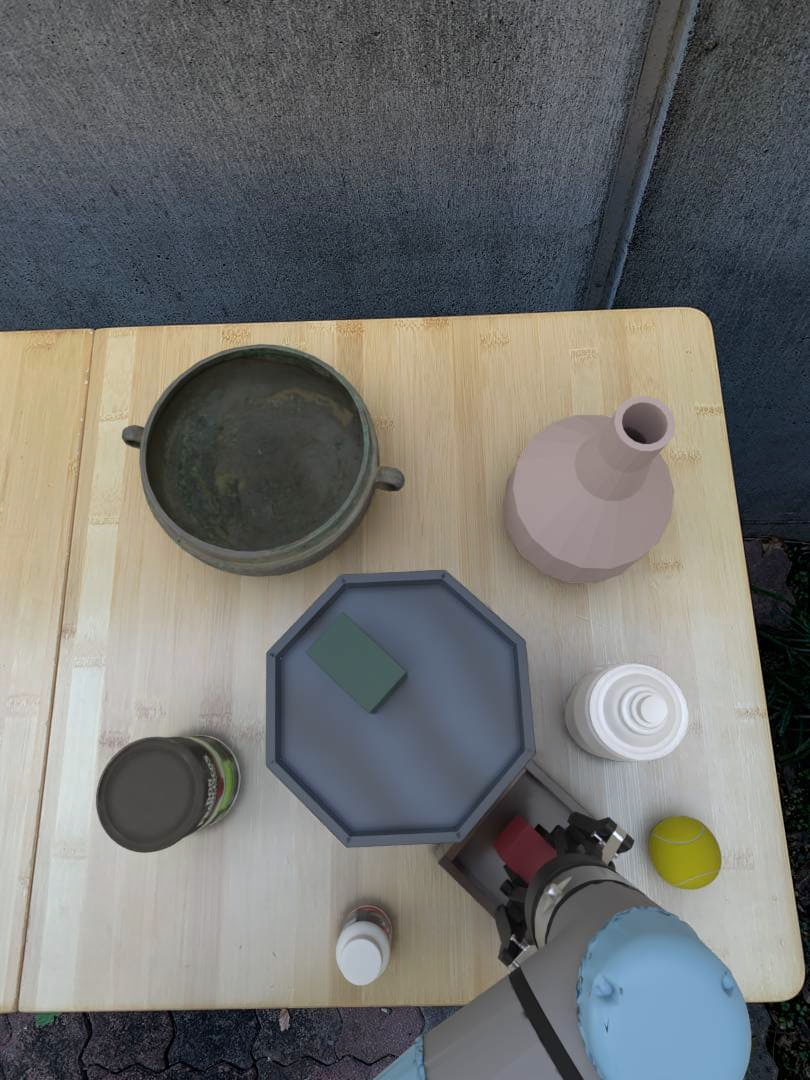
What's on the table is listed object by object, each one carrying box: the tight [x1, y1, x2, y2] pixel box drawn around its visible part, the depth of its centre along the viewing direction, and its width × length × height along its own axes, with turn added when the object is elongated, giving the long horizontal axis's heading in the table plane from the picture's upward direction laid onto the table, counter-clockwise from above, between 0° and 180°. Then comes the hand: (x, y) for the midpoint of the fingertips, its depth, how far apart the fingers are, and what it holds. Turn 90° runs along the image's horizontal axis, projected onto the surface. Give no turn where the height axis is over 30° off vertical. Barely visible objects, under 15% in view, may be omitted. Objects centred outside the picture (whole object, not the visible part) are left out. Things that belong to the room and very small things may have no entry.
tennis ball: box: [648, 815, 723, 891], centre depth 72 cm, size 7×7×7 cm
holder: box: [435, 759, 598, 930], centre depth 72 cm, size 14×12×7 cm
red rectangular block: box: [492, 814, 557, 885], centre depth 65 cm, size 4×6×7 cm, turn 48°
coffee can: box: [95, 734, 242, 854], centre depth 71 cm, size 10×10×14 cm
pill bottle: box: [335, 904, 393, 987], centre depth 69 cm, size 5×5×10 cm
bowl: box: [121, 343, 406, 578], centre depth 79 cm, size 32×26×15 cm
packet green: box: [305, 613, 408, 714], centre depth 52 cm, size 4×6×7 cm, turn 48°
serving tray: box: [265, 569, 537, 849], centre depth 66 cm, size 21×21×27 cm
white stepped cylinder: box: [564, 661, 689, 763], centre depth 67 cm, size 12×11×25 cm
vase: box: [502, 395, 676, 584], centre depth 70 cm, size 18×18×30 cm
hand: (531, 854), depth 67 cm, fingers closed on red rectangular block, 4 cm apart
